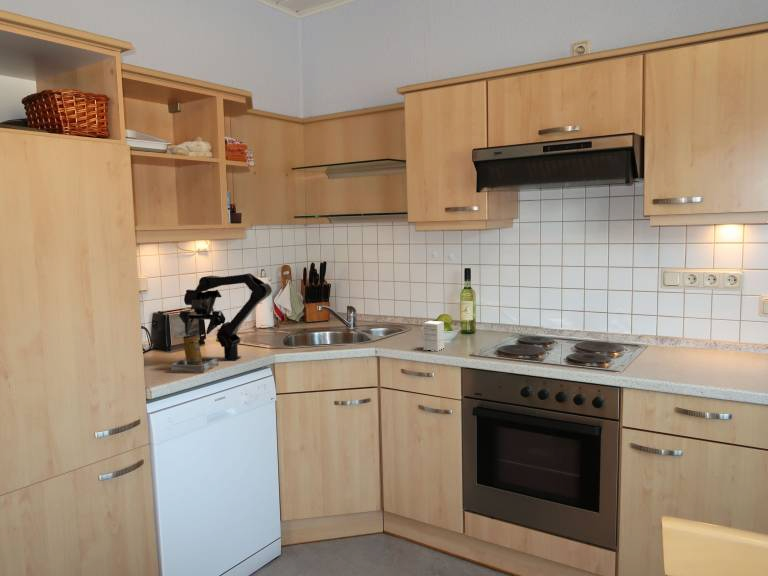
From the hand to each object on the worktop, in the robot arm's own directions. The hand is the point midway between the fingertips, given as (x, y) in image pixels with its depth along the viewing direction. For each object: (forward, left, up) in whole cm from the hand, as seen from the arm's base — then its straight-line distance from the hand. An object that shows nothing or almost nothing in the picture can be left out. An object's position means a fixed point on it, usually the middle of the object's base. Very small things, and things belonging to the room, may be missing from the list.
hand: (196, 333), depth 259 cm
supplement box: (-38, +95, -14) cm, 103 cm away
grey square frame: (+5, +1, -14) cm, 15 cm away
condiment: (+6, +2, -12) cm, 13 cm away
